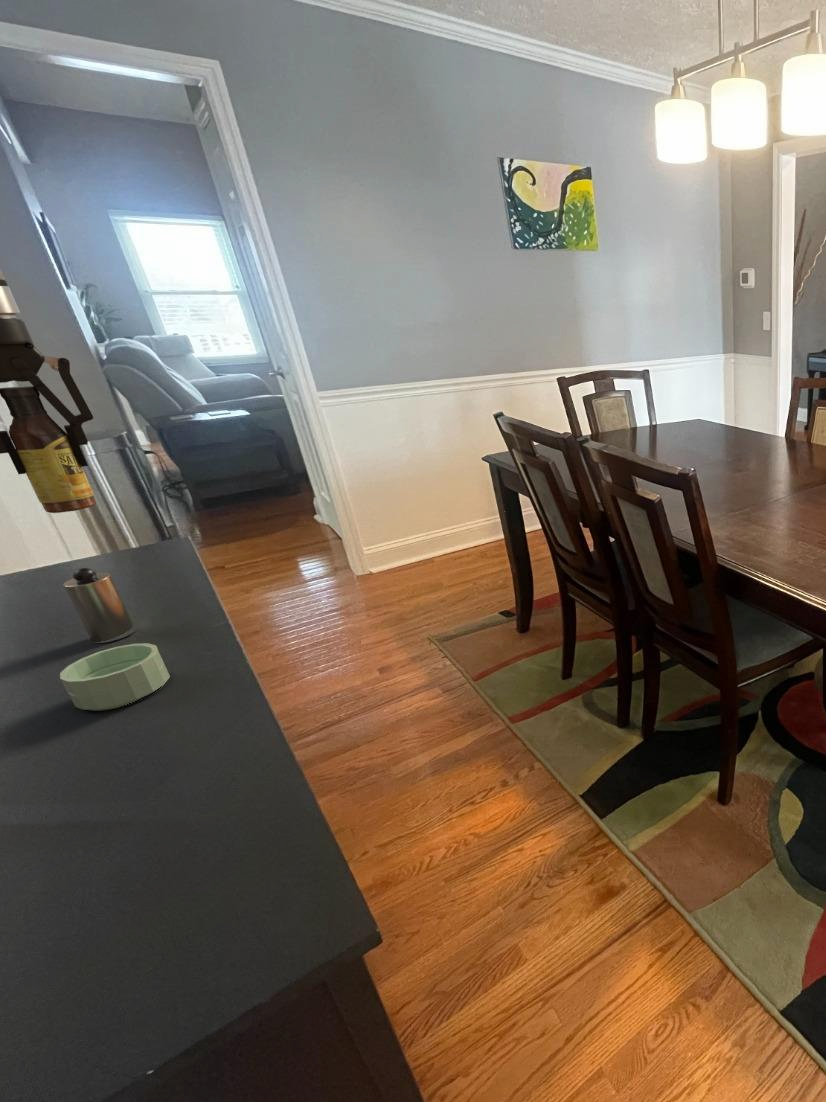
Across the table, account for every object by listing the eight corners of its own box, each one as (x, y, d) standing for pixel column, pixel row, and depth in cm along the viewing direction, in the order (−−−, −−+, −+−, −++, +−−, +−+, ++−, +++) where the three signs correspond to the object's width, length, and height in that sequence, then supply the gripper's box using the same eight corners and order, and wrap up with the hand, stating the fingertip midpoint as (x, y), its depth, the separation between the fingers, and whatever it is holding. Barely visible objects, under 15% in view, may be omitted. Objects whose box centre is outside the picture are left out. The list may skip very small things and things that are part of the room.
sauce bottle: (93, 510, 100) (38, 387, 92) (39, 517, 96) (-23, 390, 89) (103, 501, 105) (51, 384, 97) (52, 507, 101) (-6, 386, 94)
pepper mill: (82, 644, 93) (47, 575, 88) (112, 628, 97) (80, 562, 93) (116, 643, 93) (82, 575, 88) (144, 627, 97) (114, 561, 93)
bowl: (56, 714, 77) (37, 682, 75) (122, 674, 85) (107, 644, 83) (130, 712, 77) (113, 680, 75) (188, 672, 85) (175, 642, 83)
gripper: (-128, 317, 80) (-40, 484, 89) (78, 317, 93) (136, 462, 102) (-119, 317, 85) (-36, 475, 94) (76, 317, 98) (132, 455, 107)
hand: (54, 468), depth 98 cm, fingers closed on sauce bottle, 6 cm apart
